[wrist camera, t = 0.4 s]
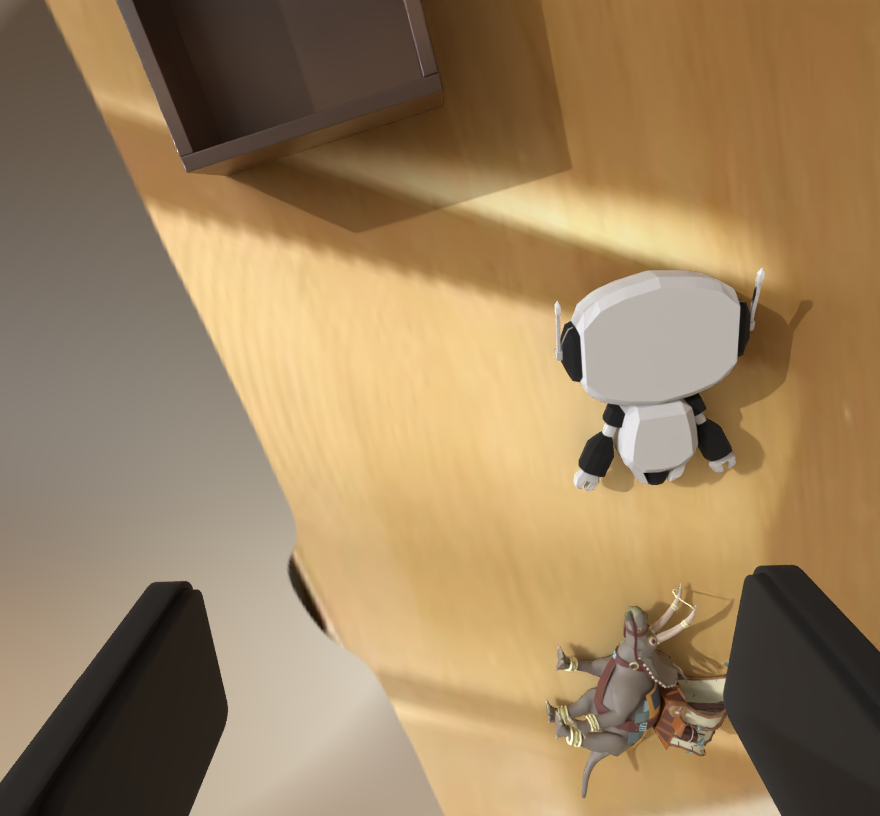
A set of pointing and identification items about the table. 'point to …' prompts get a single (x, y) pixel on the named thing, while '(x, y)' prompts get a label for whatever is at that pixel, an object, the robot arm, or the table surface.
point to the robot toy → (655, 368)
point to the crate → (280, 73)
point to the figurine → (640, 695)
